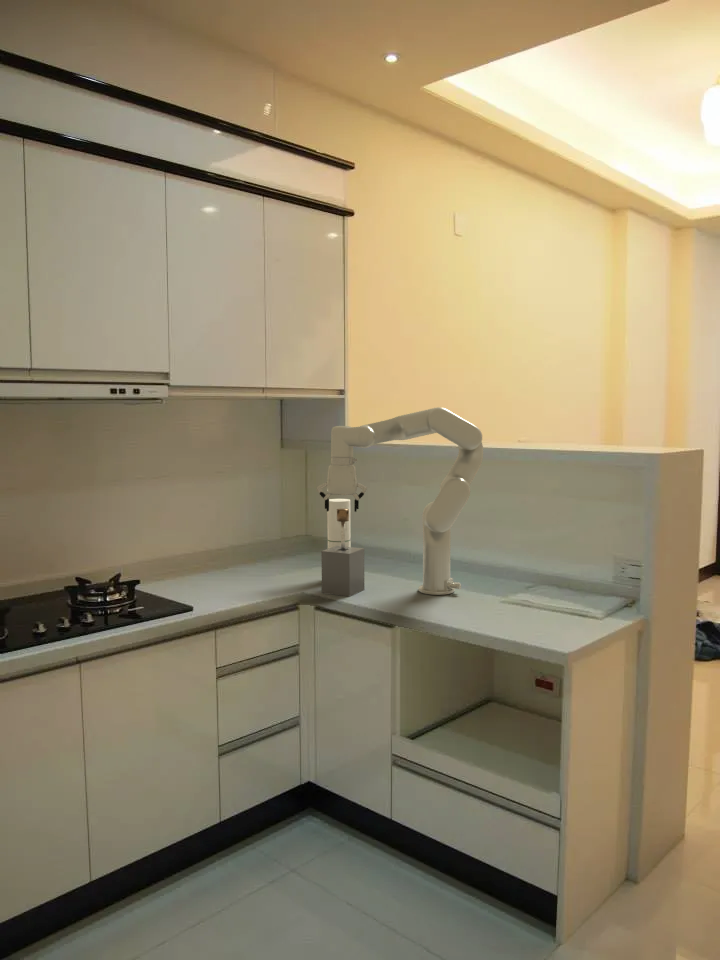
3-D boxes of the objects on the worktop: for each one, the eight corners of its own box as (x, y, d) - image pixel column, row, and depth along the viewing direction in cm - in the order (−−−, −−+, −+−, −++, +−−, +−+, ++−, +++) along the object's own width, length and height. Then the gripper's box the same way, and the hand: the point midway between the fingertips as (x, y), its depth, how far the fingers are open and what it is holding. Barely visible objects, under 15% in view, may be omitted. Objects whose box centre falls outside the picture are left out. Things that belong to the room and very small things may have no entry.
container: (339, 576, 291) (339, 498, 288) (355, 579, 285) (355, 500, 282) (323, 579, 285) (322, 500, 282) (338, 583, 279) (338, 502, 276)
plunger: (358, 564, 268) (357, 508, 266) (347, 568, 261) (347, 511, 259) (338, 562, 271) (338, 507, 269) (327, 566, 264) (327, 510, 263)
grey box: (364, 589, 269) (364, 548, 268) (349, 596, 260) (349, 553, 258) (337, 586, 274) (337, 545, 273) (321, 593, 265) (321, 551, 263)
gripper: (367, 461, 266) (366, 509, 268) (317, 460, 266) (317, 509, 268) (367, 463, 259) (366, 512, 260) (316, 462, 259) (316, 512, 261)
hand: (341, 511), depth 264 cm, fingers open, 9 cm apart
